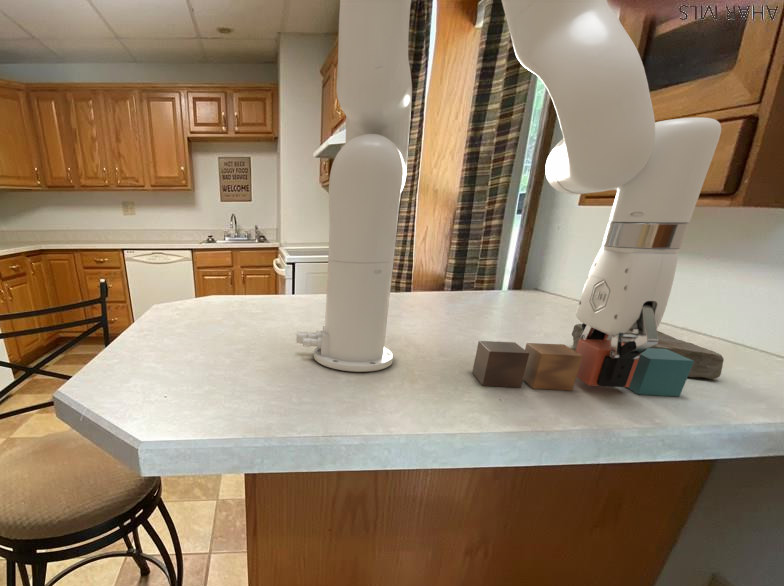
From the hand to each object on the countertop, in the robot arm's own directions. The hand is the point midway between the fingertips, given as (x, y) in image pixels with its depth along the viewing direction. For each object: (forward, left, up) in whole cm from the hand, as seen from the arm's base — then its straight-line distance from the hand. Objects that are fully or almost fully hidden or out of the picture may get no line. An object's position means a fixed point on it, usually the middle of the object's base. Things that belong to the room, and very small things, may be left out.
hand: (598, 376), depth 58 cm
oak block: (-7, 0, -1) cm, 7 cm away
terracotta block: (0, 0, 0) cm, 0 cm away
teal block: (+6, 0, -1) cm, 7 cm away
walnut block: (-13, 0, -1) cm, 13 cm away
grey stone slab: (+12, +13, -2) cm, 18 cm away
